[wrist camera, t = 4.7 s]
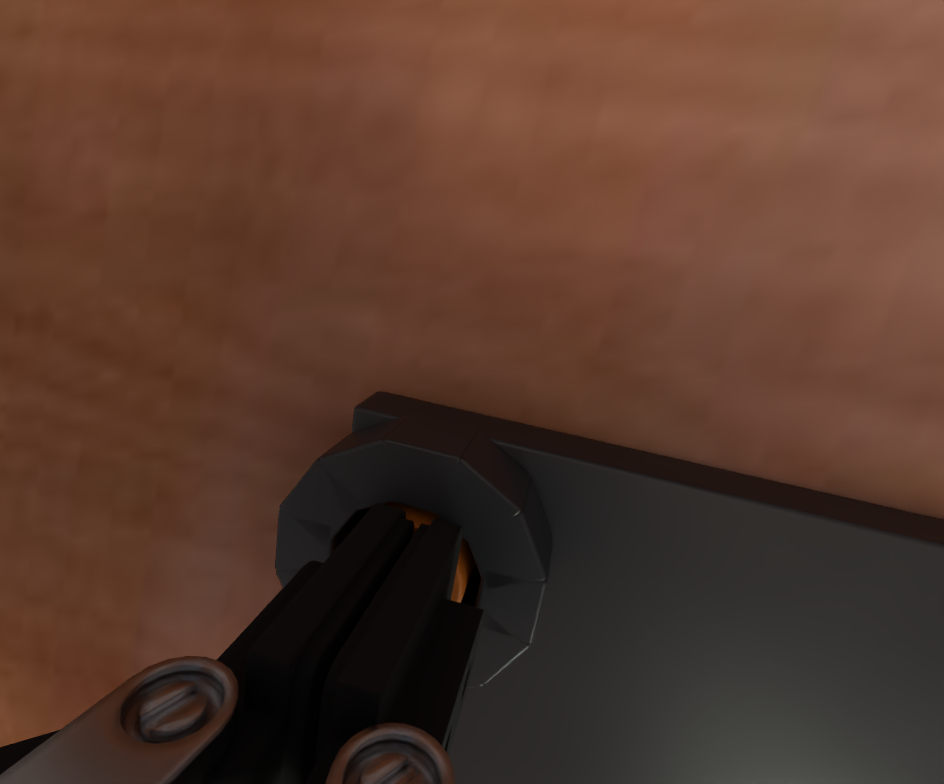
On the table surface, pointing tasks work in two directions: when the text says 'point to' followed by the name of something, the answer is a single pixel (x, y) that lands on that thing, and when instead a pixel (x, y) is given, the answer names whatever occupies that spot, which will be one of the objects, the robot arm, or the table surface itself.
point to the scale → (654, 607)
